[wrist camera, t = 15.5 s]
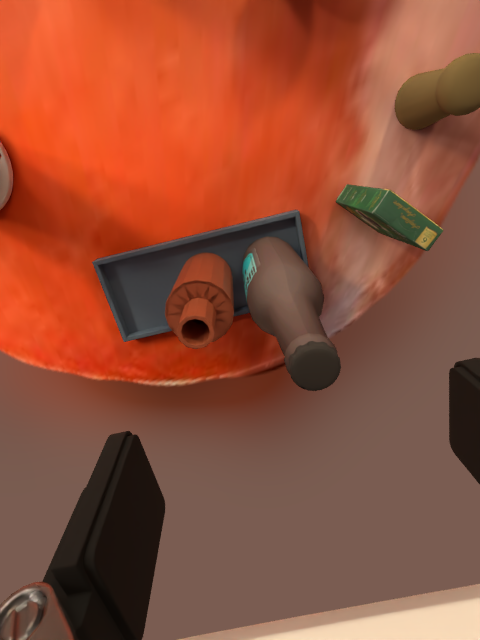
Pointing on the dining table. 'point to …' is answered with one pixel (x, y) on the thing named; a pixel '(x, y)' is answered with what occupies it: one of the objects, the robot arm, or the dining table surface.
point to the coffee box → (390, 215)
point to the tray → (167, 262)
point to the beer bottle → (290, 310)
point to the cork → (440, 93)
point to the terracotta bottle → (201, 301)
